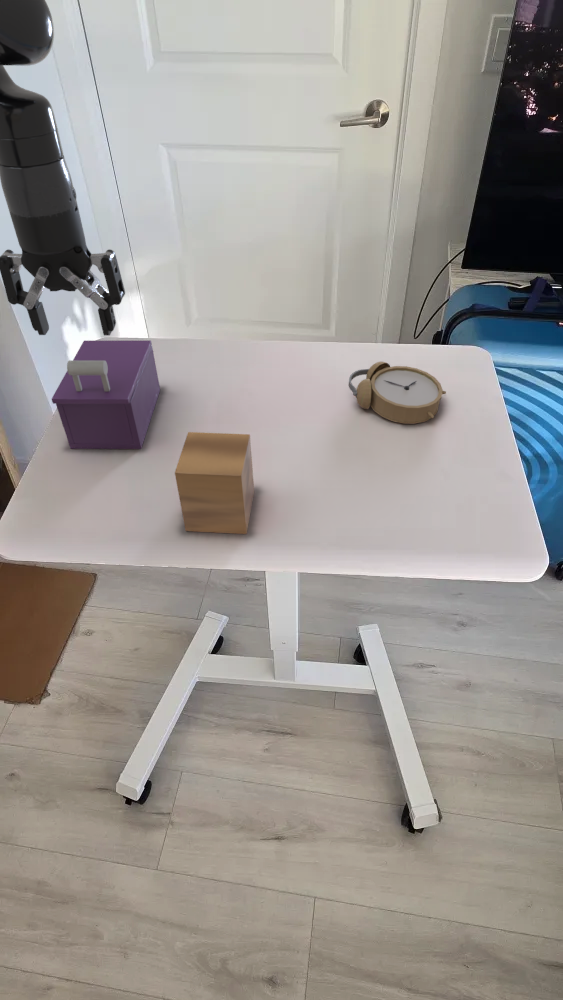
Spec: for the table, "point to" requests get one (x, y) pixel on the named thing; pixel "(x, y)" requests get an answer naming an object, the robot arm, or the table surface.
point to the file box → (114, 416)
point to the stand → (216, 482)
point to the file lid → (103, 373)
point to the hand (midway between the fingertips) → (76, 332)
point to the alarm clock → (398, 392)
